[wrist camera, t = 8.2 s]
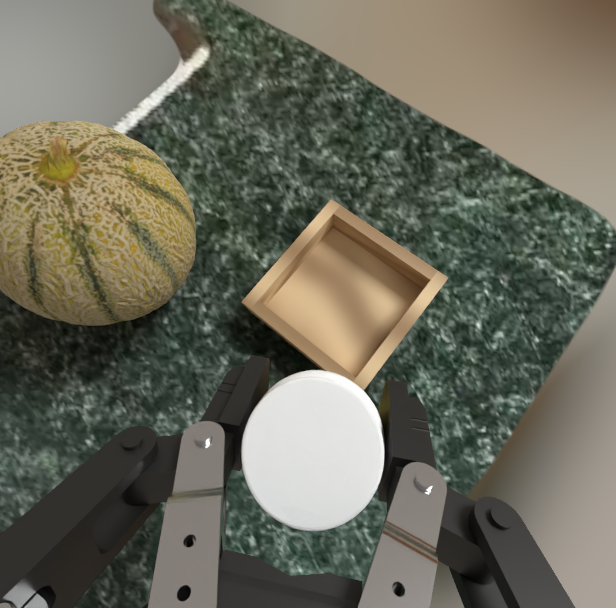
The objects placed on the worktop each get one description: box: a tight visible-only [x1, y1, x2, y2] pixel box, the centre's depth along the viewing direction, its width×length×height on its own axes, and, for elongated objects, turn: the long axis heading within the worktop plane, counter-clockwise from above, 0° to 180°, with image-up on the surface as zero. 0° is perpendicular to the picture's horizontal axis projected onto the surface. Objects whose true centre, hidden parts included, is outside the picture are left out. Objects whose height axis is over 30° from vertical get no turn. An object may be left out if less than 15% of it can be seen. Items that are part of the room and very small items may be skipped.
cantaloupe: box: [0, 121, 196, 326], centre depth 26 cm, size 15×15×15 cm
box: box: [242, 199, 448, 391], centre depth 30 cm, size 12×12×3 cm
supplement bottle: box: [241, 370, 385, 531], centre depth 13 cm, size 5×5×8 cm
